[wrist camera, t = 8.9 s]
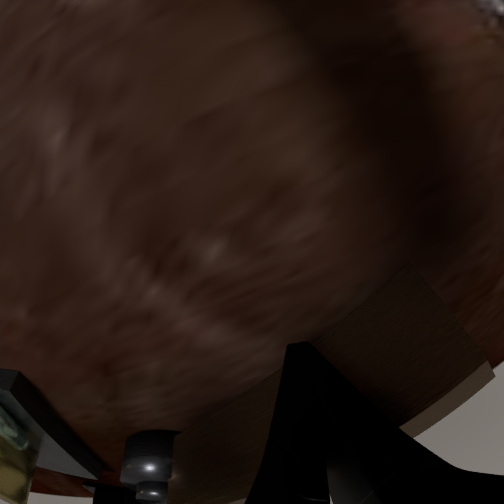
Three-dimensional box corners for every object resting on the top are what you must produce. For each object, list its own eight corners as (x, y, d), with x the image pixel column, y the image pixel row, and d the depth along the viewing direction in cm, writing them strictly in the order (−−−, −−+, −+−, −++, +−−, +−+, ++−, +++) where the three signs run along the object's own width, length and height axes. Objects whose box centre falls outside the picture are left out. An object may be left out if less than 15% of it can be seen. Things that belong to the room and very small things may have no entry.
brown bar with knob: (178, 469, 18) (176, 531, 13) (113, 446, 16) (103, 513, 11) (439, 303, 12) (501, 389, 7) (384, 232, 10) (474, 336, 5)
